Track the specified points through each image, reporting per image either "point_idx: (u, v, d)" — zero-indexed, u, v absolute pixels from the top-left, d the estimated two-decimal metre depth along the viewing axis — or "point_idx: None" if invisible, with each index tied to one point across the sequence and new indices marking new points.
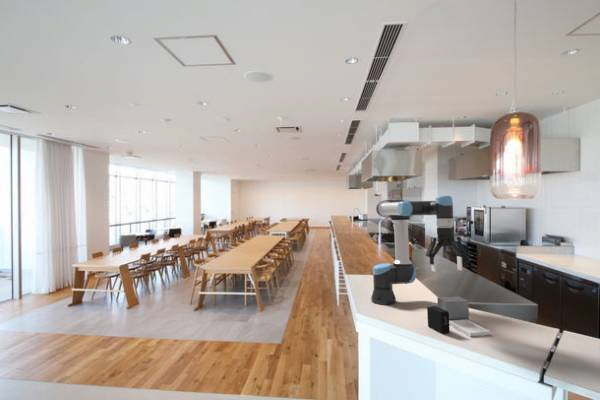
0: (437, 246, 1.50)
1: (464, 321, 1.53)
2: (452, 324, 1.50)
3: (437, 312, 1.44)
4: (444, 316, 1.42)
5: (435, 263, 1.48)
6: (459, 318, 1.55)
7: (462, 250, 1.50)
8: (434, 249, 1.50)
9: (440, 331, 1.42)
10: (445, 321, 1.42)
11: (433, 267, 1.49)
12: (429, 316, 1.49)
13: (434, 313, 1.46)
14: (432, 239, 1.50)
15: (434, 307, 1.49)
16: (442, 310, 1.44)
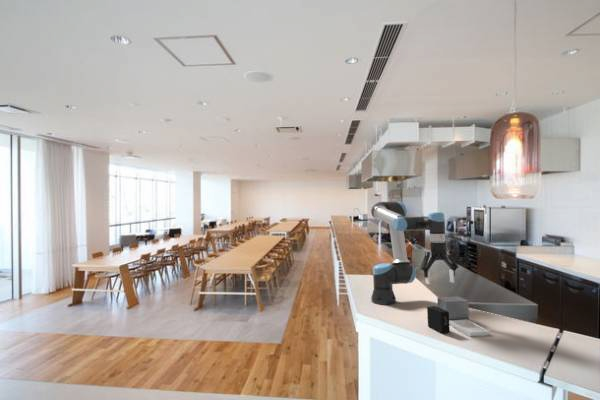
0: (431, 260, 1.58)
1: (464, 321, 1.53)
2: (452, 324, 1.50)
3: (437, 312, 1.44)
4: (444, 316, 1.42)
5: (429, 276, 1.56)
6: (459, 318, 1.55)
7: (454, 263, 1.59)
8: (428, 263, 1.59)
9: (440, 331, 1.42)
10: (445, 321, 1.42)
11: (427, 280, 1.57)
12: (429, 316, 1.49)
13: (434, 313, 1.46)
14: (426, 253, 1.58)
15: (434, 307, 1.49)
16: (442, 310, 1.44)
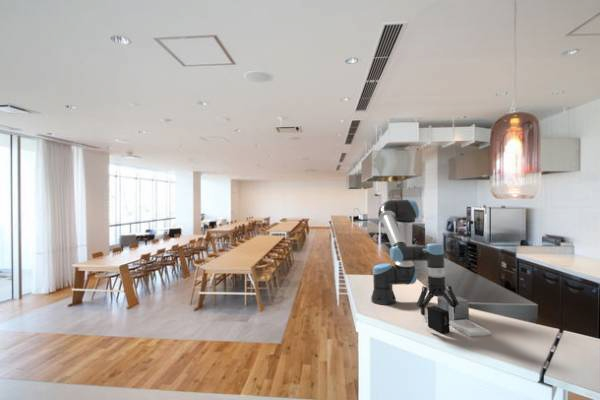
0: (428, 296, 1.46)
1: (464, 321, 1.53)
2: (452, 324, 1.50)
3: (437, 312, 1.44)
4: (444, 316, 1.42)
5: (426, 314, 1.44)
6: (459, 318, 1.55)
7: (454, 300, 1.47)
8: (425, 299, 1.46)
9: (440, 331, 1.42)
10: (445, 321, 1.42)
11: (424, 318, 1.45)
12: (429, 316, 1.49)
13: (434, 313, 1.46)
14: (423, 288, 1.46)
15: (434, 307, 1.49)
16: (442, 310, 1.44)
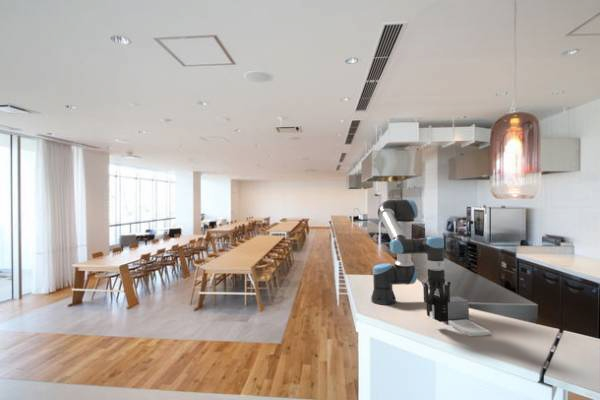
0: (431, 291, 1.47)
1: (464, 321, 1.53)
2: (452, 324, 1.50)
3: (436, 300, 1.44)
4: (443, 304, 1.42)
5: (433, 310, 1.45)
6: (459, 318, 1.55)
7: (447, 296, 1.47)
8: (429, 294, 1.47)
9: (439, 319, 1.43)
10: (444, 309, 1.42)
11: (431, 314, 1.46)
12: None
13: (433, 301, 1.47)
14: (423, 284, 1.47)
15: None
16: (441, 298, 1.45)
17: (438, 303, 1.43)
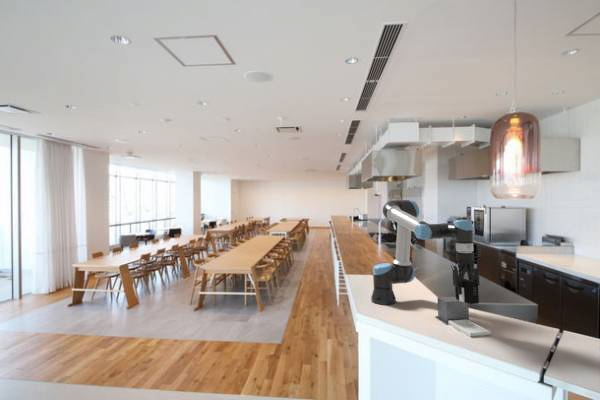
0: (460, 274, 1.47)
1: (464, 321, 1.53)
2: (452, 324, 1.50)
3: (466, 283, 1.44)
4: (473, 287, 1.42)
5: (463, 293, 1.45)
6: (459, 318, 1.55)
7: (476, 279, 1.47)
8: (458, 277, 1.47)
9: (469, 302, 1.42)
10: (474, 292, 1.42)
11: (461, 297, 1.46)
12: None
13: None
14: (452, 267, 1.46)
15: None
16: (471, 281, 1.44)
17: (468, 285, 1.43)
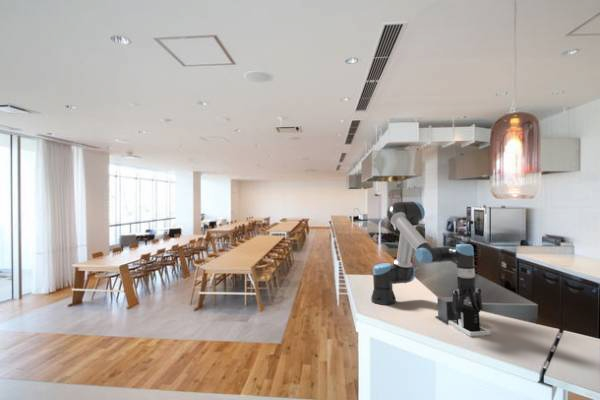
0: (460, 298, 1.46)
1: None
2: (452, 324, 1.50)
3: (467, 310, 1.44)
4: (474, 314, 1.41)
5: (462, 318, 1.44)
6: None
7: (479, 303, 1.46)
8: (458, 302, 1.46)
9: (470, 329, 1.42)
10: (475, 319, 1.41)
11: (460, 322, 1.45)
12: None
13: (463, 311, 1.46)
14: (453, 292, 1.46)
15: (463, 305, 1.49)
16: (472, 308, 1.44)
17: (469, 313, 1.42)
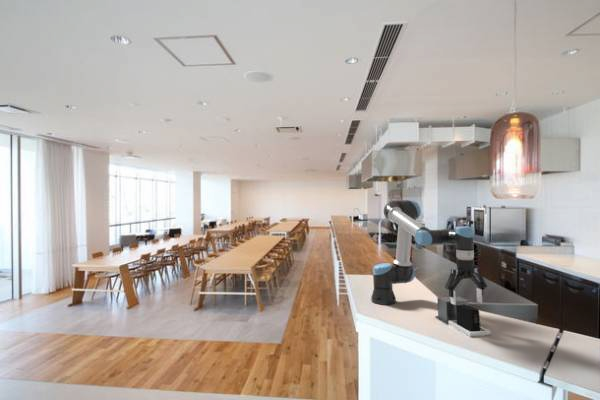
0: (457, 278, 1.47)
1: None
2: (452, 324, 1.50)
3: (467, 310, 1.44)
4: (474, 314, 1.41)
5: (455, 296, 1.45)
6: None
7: (482, 282, 1.47)
8: (454, 281, 1.47)
9: (470, 329, 1.42)
10: (475, 319, 1.41)
11: (452, 300, 1.46)
12: (458, 314, 1.49)
13: (463, 311, 1.46)
14: (452, 271, 1.46)
15: (463, 305, 1.49)
16: (472, 308, 1.44)
17: (469, 313, 1.42)
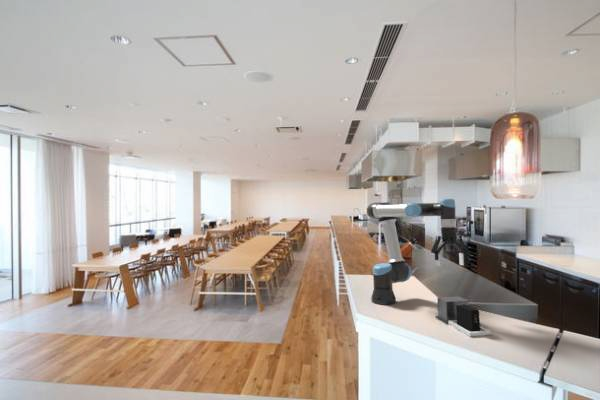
0: (441, 244, 1.67)
1: None
2: (452, 324, 1.50)
3: (467, 310, 1.44)
4: (474, 314, 1.41)
5: (439, 259, 1.66)
6: None
7: (463, 247, 1.68)
8: (439, 246, 1.68)
9: (470, 329, 1.42)
10: (475, 319, 1.41)
11: (438, 262, 1.66)
12: (458, 314, 1.49)
13: (463, 311, 1.46)
14: (437, 237, 1.67)
15: (463, 305, 1.49)
16: (472, 308, 1.44)
17: (469, 313, 1.42)
